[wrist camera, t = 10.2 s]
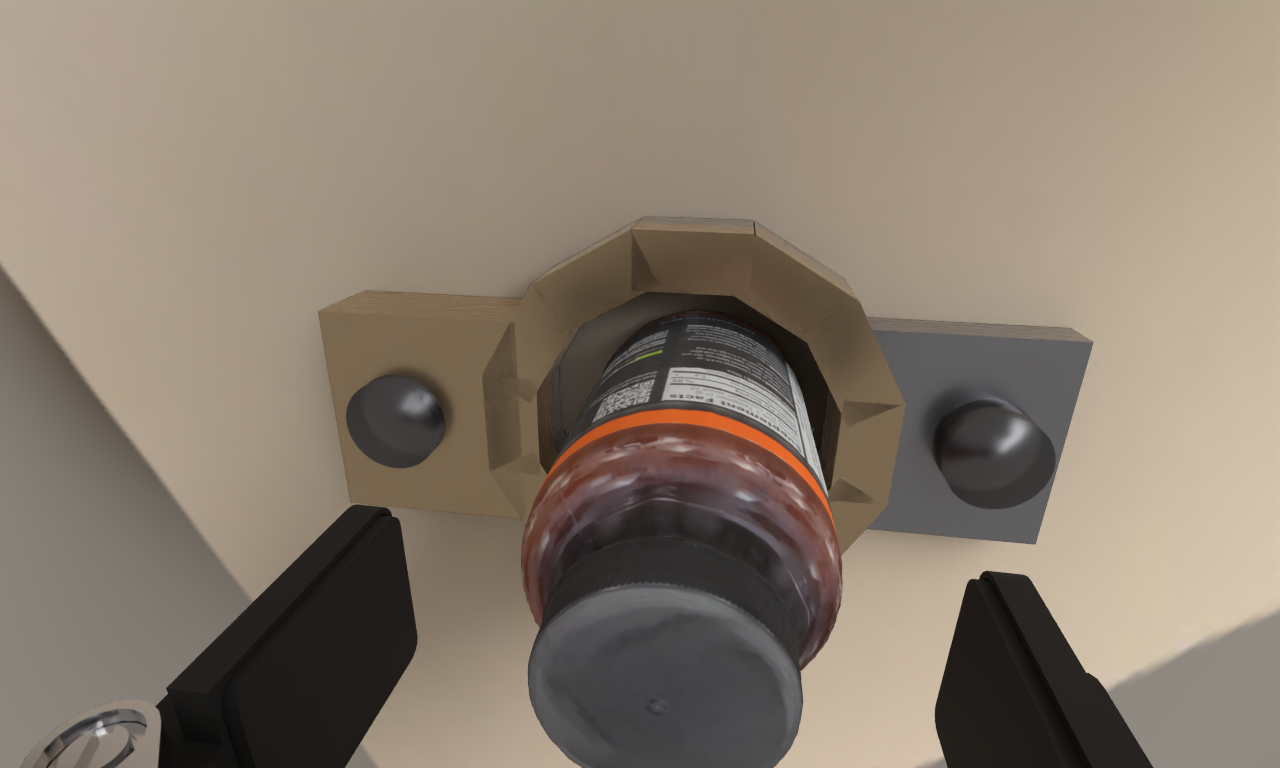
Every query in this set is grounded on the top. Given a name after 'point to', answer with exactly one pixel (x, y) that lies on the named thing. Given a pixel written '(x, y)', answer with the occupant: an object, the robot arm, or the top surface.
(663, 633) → the supplement bottle
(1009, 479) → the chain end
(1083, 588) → the top surface
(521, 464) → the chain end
